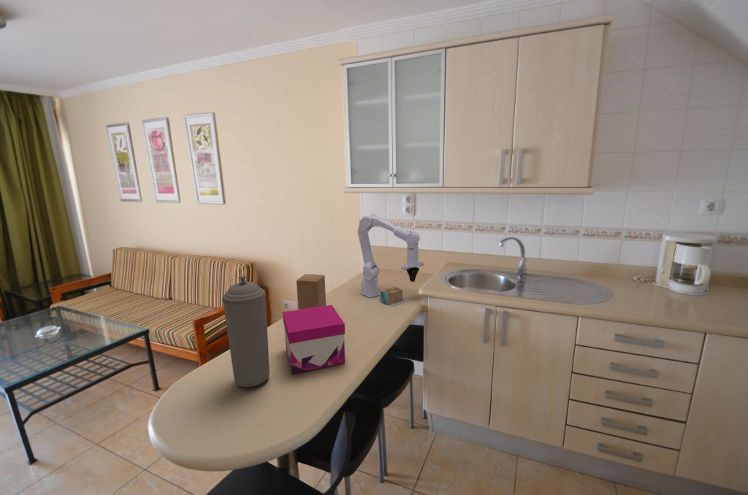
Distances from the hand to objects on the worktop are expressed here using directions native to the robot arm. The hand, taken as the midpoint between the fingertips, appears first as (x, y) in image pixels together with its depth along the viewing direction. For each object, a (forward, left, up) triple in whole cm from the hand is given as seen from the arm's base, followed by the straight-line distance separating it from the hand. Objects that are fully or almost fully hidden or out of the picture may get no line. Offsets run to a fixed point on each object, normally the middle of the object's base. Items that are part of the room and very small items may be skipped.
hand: (412, 281), depth 177 cm
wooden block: (-12, -52, -11) cm, 54 cm away
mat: (-5, -9, -10) cm, 14 cm away
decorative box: (+18, -67, -11) cm, 70 cm away
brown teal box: (-5, -15, -7) cm, 17 cm away
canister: (+19, -90, -11) cm, 93 cm away
